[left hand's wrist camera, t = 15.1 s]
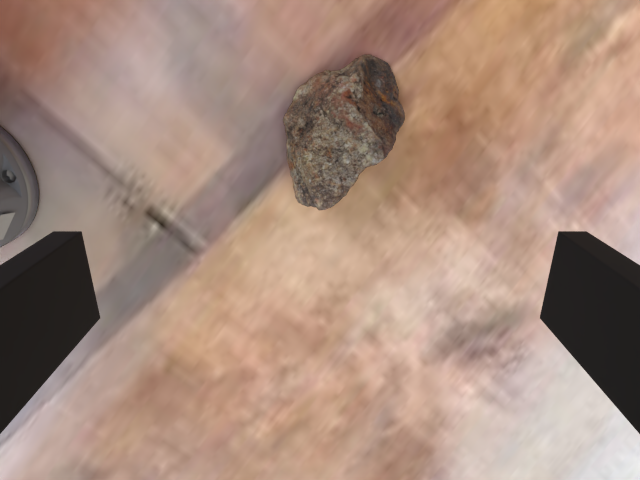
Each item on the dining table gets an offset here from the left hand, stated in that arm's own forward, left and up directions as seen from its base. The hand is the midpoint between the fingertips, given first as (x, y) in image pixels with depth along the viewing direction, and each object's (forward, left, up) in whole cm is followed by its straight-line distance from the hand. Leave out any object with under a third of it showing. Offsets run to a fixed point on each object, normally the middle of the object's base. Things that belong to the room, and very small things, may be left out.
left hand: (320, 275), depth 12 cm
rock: (+1, +1, -35) cm, 35 cm away
